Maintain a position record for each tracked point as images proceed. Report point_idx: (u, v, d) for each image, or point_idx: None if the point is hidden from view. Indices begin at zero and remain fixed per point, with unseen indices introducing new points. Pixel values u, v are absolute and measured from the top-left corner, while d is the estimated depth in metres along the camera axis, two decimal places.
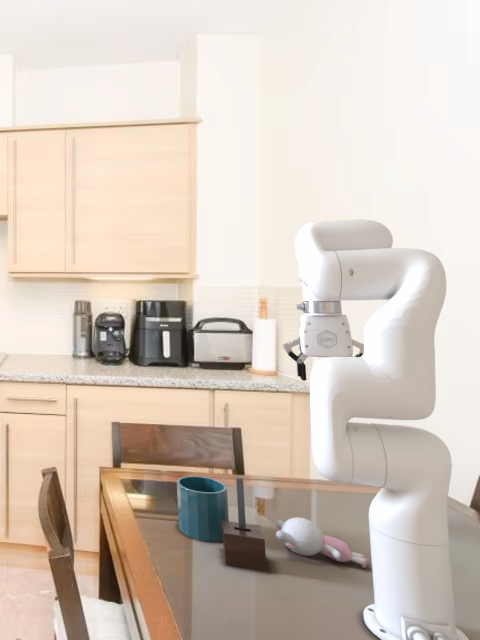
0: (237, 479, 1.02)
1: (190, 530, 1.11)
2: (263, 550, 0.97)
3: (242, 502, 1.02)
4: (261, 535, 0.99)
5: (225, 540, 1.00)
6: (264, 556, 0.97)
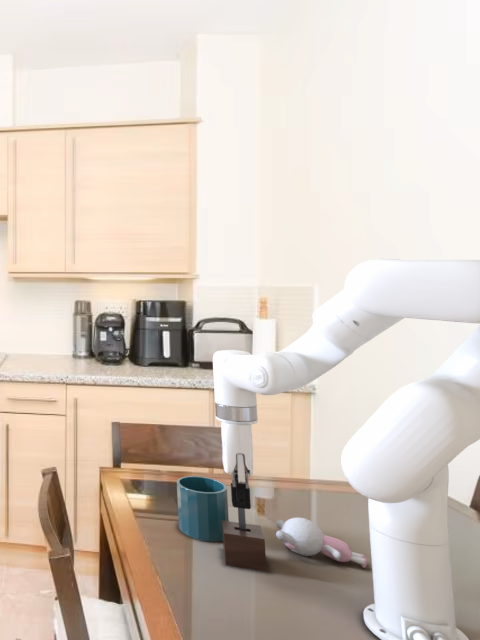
0: None
1: (190, 530, 1.11)
2: (263, 550, 0.97)
3: None
4: (261, 535, 0.99)
5: (225, 540, 1.00)
6: (264, 556, 0.97)
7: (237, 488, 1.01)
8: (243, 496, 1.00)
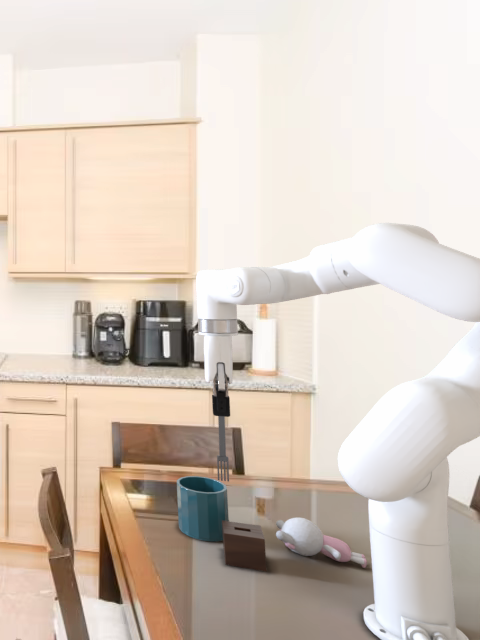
0: None
1: (190, 530, 1.11)
2: (263, 550, 0.97)
3: (223, 426, 1.07)
4: (261, 535, 0.99)
5: (225, 540, 1.00)
6: (264, 556, 0.97)
7: (218, 397, 1.06)
8: (223, 404, 1.06)
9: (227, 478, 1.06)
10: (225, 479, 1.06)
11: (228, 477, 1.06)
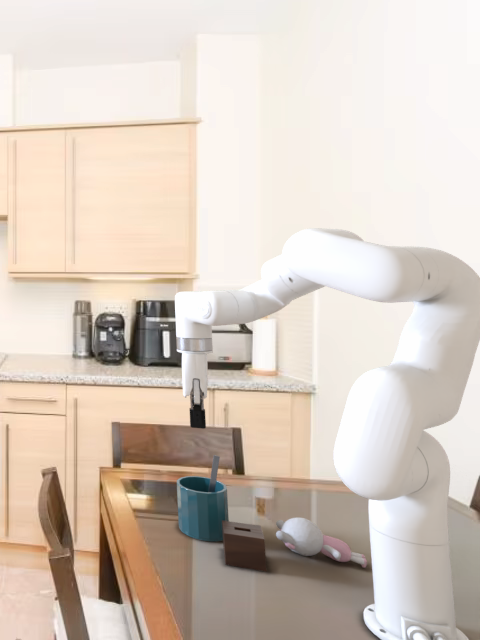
0: (214, 456, 1.14)
1: (190, 530, 1.11)
2: (263, 550, 0.97)
3: (214, 477, 1.14)
4: (261, 535, 0.99)
5: (225, 540, 1.00)
6: (264, 556, 0.97)
7: (194, 410, 1.15)
8: (199, 417, 1.14)
9: None
10: None
11: None
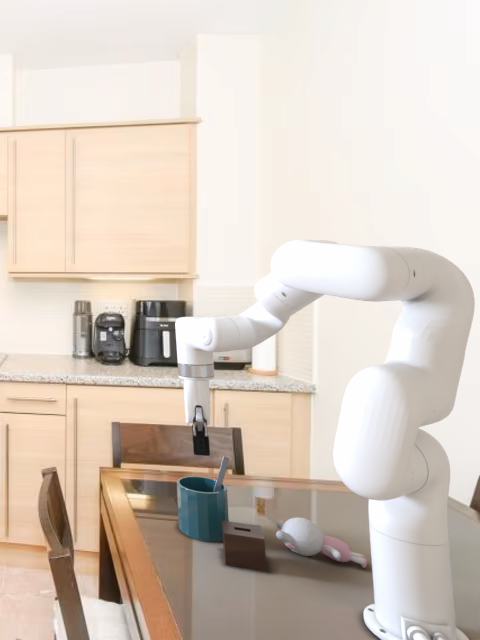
0: (224, 457, 1.15)
1: (190, 530, 1.11)
2: (263, 550, 0.97)
3: (221, 478, 1.14)
4: (261, 535, 0.99)
5: (225, 540, 1.00)
6: (264, 556, 0.97)
7: (197, 437, 1.10)
8: (203, 444, 1.09)
9: None
10: None
11: None
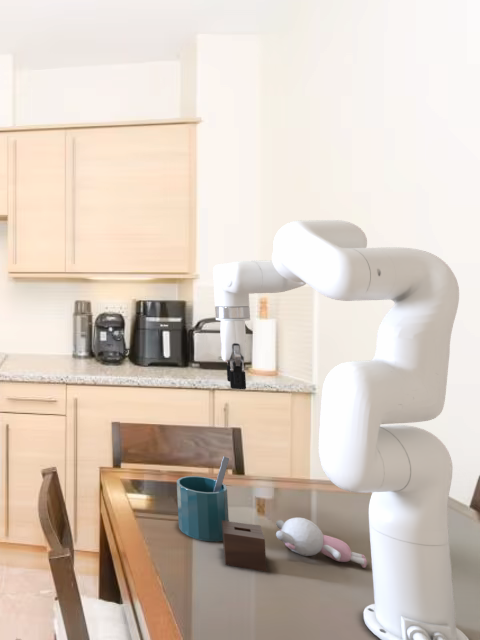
0: (224, 457, 1.15)
1: (190, 530, 1.11)
2: (263, 550, 0.97)
3: (221, 478, 1.14)
4: (261, 535, 0.99)
5: (225, 540, 1.00)
6: (264, 556, 0.97)
7: (234, 372, 1.19)
8: (239, 378, 1.18)
9: None
10: None
11: None
